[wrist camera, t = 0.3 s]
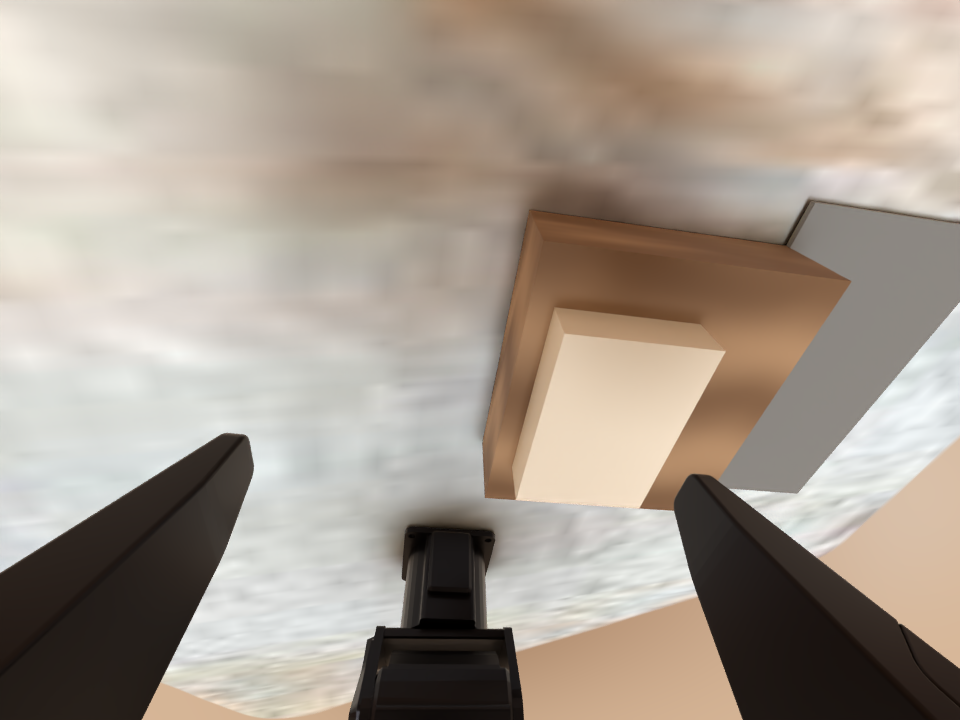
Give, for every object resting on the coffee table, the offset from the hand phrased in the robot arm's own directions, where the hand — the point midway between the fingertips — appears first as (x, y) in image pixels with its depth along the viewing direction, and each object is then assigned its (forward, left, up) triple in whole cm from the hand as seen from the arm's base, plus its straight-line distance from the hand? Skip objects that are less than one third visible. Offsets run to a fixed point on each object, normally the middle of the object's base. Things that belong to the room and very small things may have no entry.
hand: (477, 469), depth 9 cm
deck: (-5, -8, -13) cm, 16 cm away
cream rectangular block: (-5, -6, -9) cm, 12 cm away
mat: (-5, -19, -13) cm, 24 cm away
